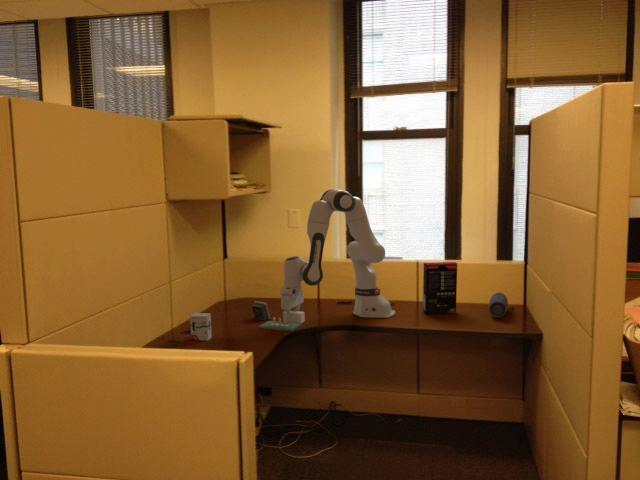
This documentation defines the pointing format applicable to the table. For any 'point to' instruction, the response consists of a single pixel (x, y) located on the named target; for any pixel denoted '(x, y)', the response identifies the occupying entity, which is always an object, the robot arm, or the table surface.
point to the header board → (280, 325)
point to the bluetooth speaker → (498, 305)
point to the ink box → (200, 326)
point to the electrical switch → (260, 310)
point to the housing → (295, 317)
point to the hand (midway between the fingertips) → (293, 314)
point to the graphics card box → (439, 287)
